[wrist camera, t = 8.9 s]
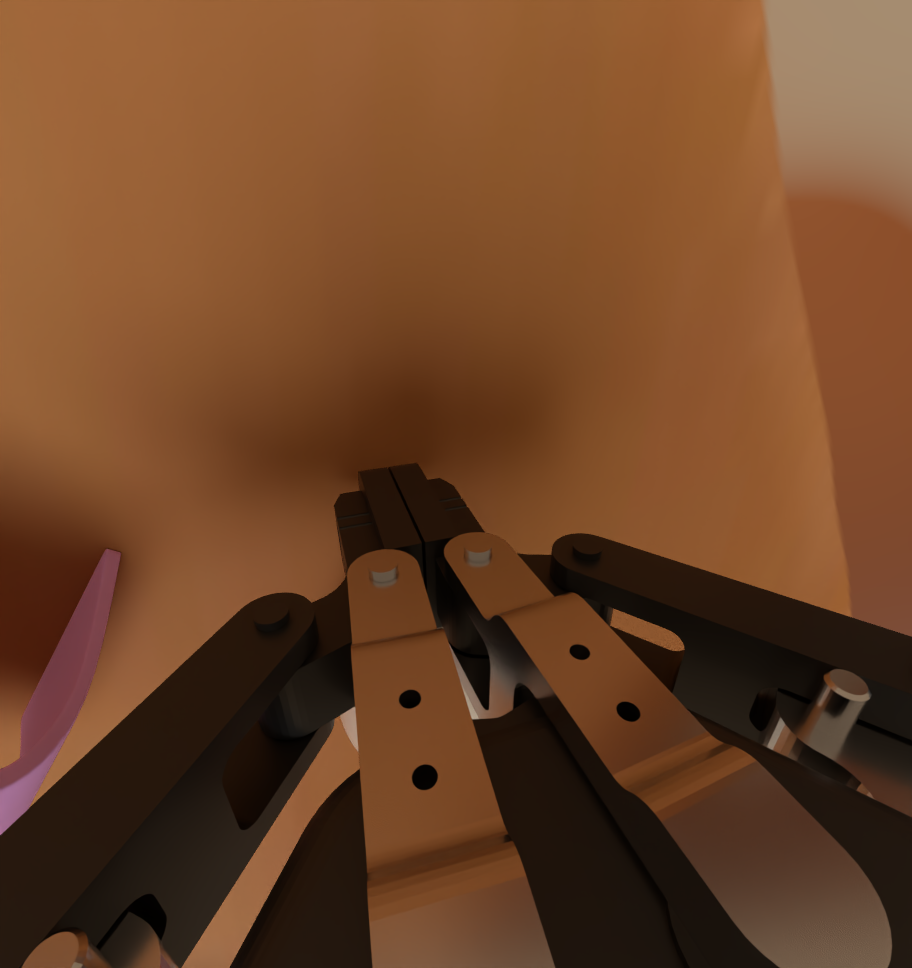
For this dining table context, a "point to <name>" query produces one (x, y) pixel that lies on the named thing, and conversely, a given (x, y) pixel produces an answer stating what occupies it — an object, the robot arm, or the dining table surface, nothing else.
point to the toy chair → (59, 693)
